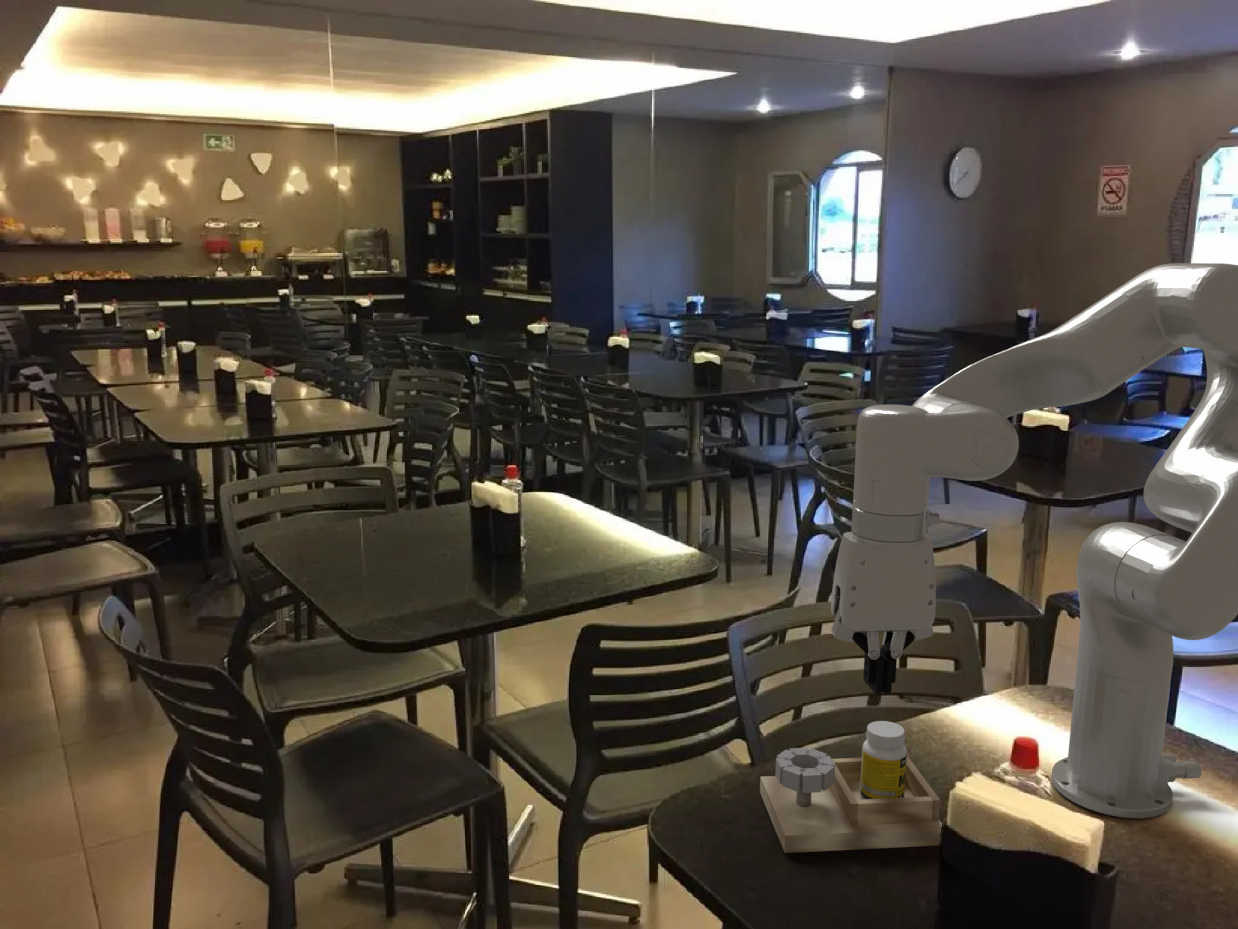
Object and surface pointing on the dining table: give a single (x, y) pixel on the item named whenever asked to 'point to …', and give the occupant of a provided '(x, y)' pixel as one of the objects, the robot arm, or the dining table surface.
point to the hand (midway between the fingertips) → (878, 688)
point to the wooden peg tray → (852, 813)
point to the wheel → (805, 770)
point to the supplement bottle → (883, 761)
